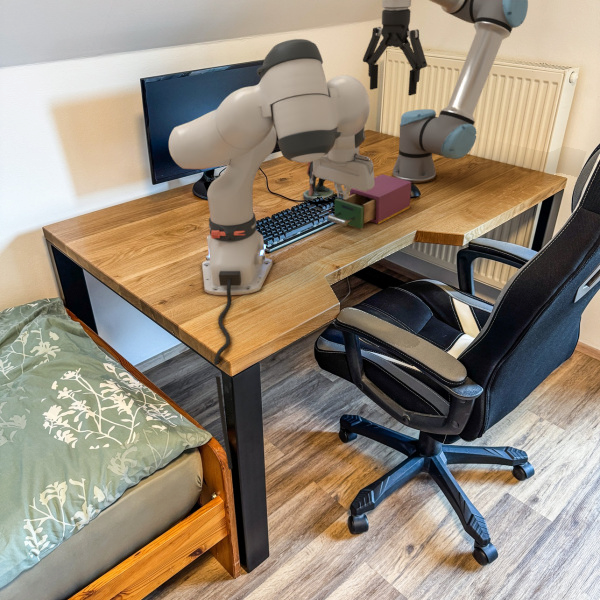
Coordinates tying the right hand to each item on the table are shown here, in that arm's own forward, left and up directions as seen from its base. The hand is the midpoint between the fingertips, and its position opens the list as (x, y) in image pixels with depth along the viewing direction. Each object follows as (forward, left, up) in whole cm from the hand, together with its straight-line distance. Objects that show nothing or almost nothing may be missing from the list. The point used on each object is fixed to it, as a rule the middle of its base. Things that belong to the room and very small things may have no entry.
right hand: (392, 91), depth 161 cm
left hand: (+21, -6, -26) cm, 33 cm away
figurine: (+1, -24, -36) cm, 43 cm away
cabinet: (+3, -1, -36) cm, 36 cm away
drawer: (+14, -4, -35) cm, 38 cm away
